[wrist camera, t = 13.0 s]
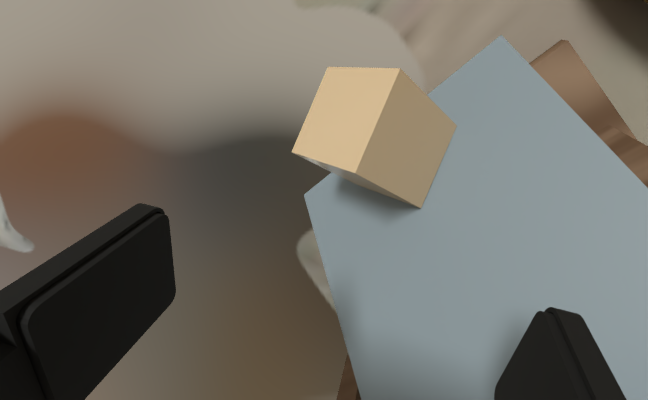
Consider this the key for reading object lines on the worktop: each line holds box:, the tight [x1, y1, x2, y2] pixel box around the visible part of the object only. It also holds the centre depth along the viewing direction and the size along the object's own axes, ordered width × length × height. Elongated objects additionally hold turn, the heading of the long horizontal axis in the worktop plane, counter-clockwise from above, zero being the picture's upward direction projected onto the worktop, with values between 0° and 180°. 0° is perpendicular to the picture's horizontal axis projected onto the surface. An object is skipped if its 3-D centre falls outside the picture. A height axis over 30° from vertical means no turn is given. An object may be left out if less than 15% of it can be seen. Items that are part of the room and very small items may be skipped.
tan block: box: [292, 67, 457, 208], centre depth 20 cm, size 5×5×6 cm
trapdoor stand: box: [337, 40, 648, 400], centre depth 21 cm, size 14×22×17 cm, turn 134°
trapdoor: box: [304, 35, 648, 400], centre depth 17 cm, size 22×16×4 cm
